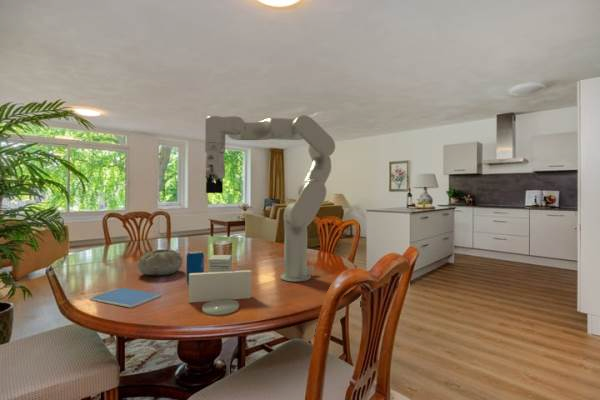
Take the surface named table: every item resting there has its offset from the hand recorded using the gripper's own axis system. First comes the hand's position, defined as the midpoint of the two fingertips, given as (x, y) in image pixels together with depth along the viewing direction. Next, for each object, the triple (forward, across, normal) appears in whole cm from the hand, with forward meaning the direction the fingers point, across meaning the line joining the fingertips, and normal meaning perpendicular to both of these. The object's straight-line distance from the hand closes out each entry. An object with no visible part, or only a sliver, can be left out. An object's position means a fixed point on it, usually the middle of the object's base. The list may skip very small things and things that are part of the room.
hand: (214, 193), depth 121 cm
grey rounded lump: (+36, +12, +27) cm, 46 cm away
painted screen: (+35, -18, -8) cm, 41 cm away
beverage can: (+36, 0, +7) cm, 36 cm away
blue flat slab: (+36, -19, +24) cm, 47 cm away
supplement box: (+36, -10, -6) cm, 37 cm away
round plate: (+35, -26, -11) cm, 45 cm away
